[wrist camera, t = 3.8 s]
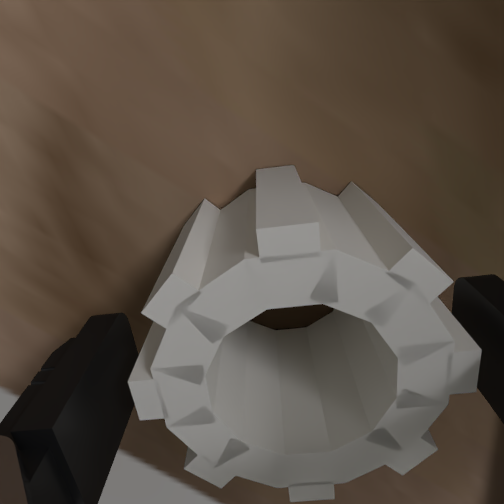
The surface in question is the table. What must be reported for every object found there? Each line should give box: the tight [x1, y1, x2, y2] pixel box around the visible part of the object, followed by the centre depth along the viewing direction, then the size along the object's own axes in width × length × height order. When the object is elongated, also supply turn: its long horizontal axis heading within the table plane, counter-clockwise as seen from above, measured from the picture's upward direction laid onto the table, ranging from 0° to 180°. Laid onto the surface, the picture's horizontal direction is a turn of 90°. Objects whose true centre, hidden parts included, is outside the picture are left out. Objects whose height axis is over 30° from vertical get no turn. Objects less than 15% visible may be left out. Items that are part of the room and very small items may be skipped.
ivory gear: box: [128, 165, 482, 502], centre depth 10 cm, size 7×7×4 cm
